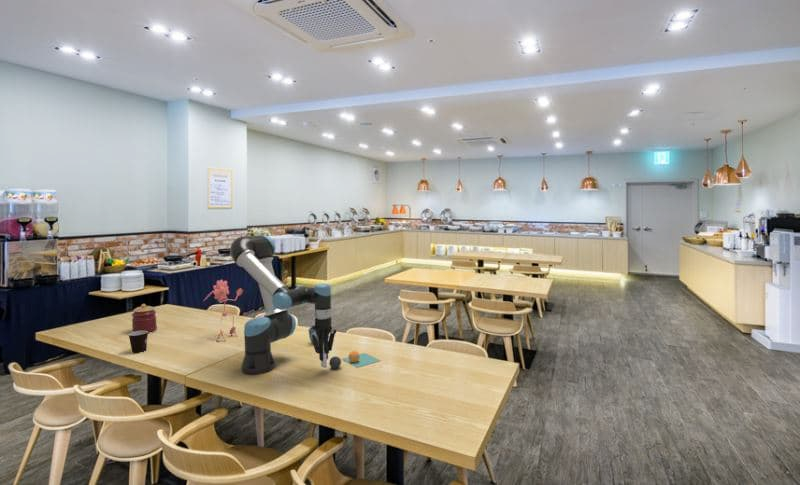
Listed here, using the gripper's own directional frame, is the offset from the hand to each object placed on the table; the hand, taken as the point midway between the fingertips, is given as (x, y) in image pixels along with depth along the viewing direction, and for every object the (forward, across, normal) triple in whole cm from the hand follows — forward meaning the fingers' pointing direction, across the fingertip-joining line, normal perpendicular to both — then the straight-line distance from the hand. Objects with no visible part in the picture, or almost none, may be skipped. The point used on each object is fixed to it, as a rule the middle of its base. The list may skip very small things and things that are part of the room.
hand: (323, 366), depth 188 cm
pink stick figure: (+2, -23, +82) cm, 85 cm away
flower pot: (+2, +17, +38) cm, 42 cm away
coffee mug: (+2, -63, +87) cm, 107 cm away
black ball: (-1, +6, -1) cm, 6 cm away
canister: (+2, -57, +126) cm, 138 cm away
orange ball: (-1, +17, 0) cm, 17 cm away
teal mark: (+2, +21, 0) cm, 21 cm away
